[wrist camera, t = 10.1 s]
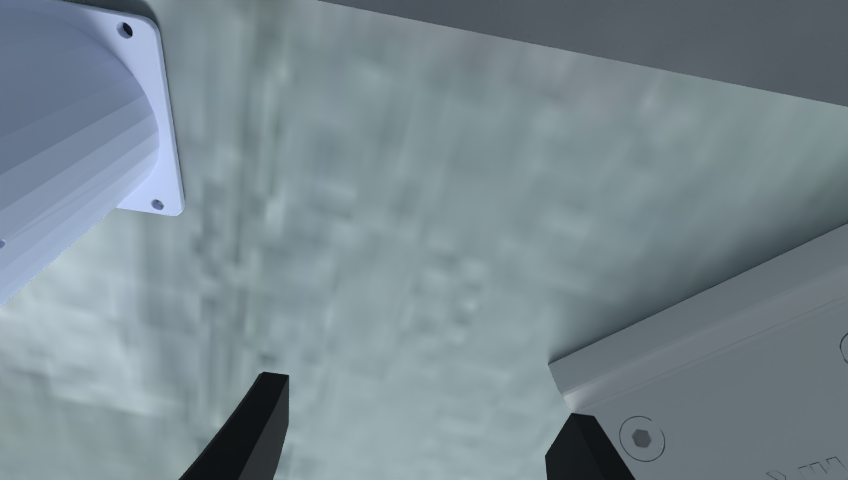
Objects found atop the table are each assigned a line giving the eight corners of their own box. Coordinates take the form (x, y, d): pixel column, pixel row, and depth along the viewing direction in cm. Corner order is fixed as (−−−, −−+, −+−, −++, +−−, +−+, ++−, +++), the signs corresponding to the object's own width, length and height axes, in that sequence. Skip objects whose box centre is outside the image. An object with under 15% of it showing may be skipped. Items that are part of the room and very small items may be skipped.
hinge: (861, 216, 20) (1127, 444, 14) (852, 256, 23) (1063, 454, 17) (541, 367, 26) (626, 574, 20) (570, 382, 29) (650, 564, 23)
